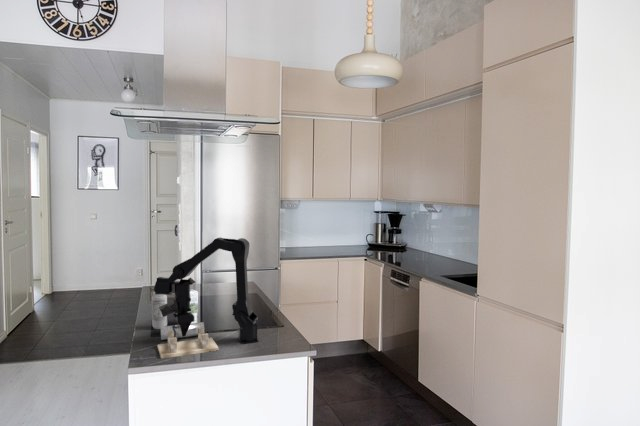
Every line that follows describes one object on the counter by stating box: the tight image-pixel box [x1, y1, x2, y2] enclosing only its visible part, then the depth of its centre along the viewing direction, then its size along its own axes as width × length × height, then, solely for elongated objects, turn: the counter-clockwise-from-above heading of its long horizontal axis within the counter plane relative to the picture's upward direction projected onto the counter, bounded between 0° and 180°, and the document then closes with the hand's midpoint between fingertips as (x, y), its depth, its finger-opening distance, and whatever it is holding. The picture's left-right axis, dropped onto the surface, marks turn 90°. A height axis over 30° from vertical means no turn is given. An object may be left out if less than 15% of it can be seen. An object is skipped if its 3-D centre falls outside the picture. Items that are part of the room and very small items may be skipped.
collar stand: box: [157, 326, 219, 359], centre depth 167 cm, size 20×12×6 cm, turn 115°
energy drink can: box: [151, 291, 168, 330], centre depth 190 cm, size 6×6×15 cm
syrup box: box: [189, 288, 199, 323], centre depth 196 cm, size 6×6×14 cm
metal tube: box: [160, 321, 205, 341], centre depth 178 cm, size 16×5×5 cm, turn 115°
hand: (182, 334), depth 178 cm, fingers closed on metal tube, 5 cm apart
